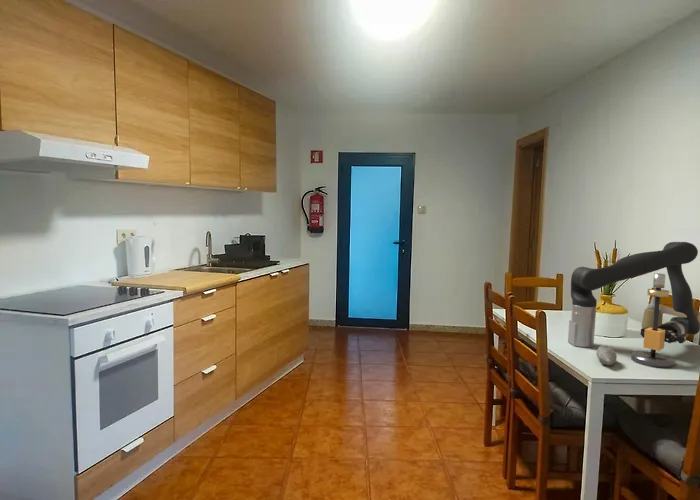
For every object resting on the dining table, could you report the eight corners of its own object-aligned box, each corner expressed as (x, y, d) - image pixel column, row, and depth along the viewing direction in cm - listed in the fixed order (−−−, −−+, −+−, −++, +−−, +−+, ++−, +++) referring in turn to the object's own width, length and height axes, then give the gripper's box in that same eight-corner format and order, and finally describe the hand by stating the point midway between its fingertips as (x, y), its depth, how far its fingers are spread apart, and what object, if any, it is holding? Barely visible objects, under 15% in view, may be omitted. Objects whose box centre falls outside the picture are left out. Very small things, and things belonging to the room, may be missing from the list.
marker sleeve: (658, 350, 173) (660, 332, 172) (643, 347, 177) (644, 329, 176) (663, 348, 176) (665, 330, 175) (648, 344, 180) (649, 327, 179)
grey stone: (598, 360, 168) (603, 339, 170) (592, 363, 180) (597, 344, 182) (617, 367, 166) (622, 345, 167) (610, 369, 178) (615, 349, 179)
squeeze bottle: (655, 338, 210) (658, 299, 208) (637, 333, 217) (640, 295, 215) (665, 336, 213) (668, 297, 212) (647, 331, 221) (650, 294, 219)
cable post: (666, 370, 167) (675, 278, 164) (625, 360, 178) (631, 273, 175) (680, 363, 176) (688, 275, 172) (639, 353, 187) (646, 270, 183)
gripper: (651, 318, 193) (636, 324, 182) (692, 326, 181) (678, 332, 171) (650, 336, 193) (635, 342, 183) (691, 344, 182) (677, 352, 172)
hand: (656, 337), depth 177 cm, fingers open, 8 cm apart
